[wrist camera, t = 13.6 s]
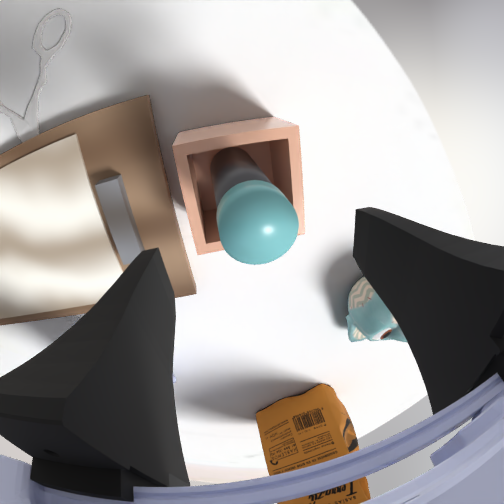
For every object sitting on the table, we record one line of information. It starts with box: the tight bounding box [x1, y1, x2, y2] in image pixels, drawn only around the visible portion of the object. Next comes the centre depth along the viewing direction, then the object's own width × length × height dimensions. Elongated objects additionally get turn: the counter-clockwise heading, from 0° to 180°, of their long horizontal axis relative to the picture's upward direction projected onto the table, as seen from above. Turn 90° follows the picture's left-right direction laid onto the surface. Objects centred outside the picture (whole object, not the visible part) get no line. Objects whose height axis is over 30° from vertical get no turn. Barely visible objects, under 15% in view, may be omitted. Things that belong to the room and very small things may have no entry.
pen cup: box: [172, 117, 305, 255], centre depth 17 cm, size 6×6×5 cm
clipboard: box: [0, 95, 196, 325], centre depth 17 cm, size 15×24×2 cm, turn 97°
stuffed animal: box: [346, 277, 407, 342], centre depth 26 cm, size 11×7×12 cm
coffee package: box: [256, 384, 370, 504], centre depth 29 cm, size 10×12×22 cm
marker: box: [210, 147, 299, 265], centre depth 14 cm, size 3×3×9 cm
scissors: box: [0, 9, 72, 143], centre depth 14 cm, size 11×1×20 cm
